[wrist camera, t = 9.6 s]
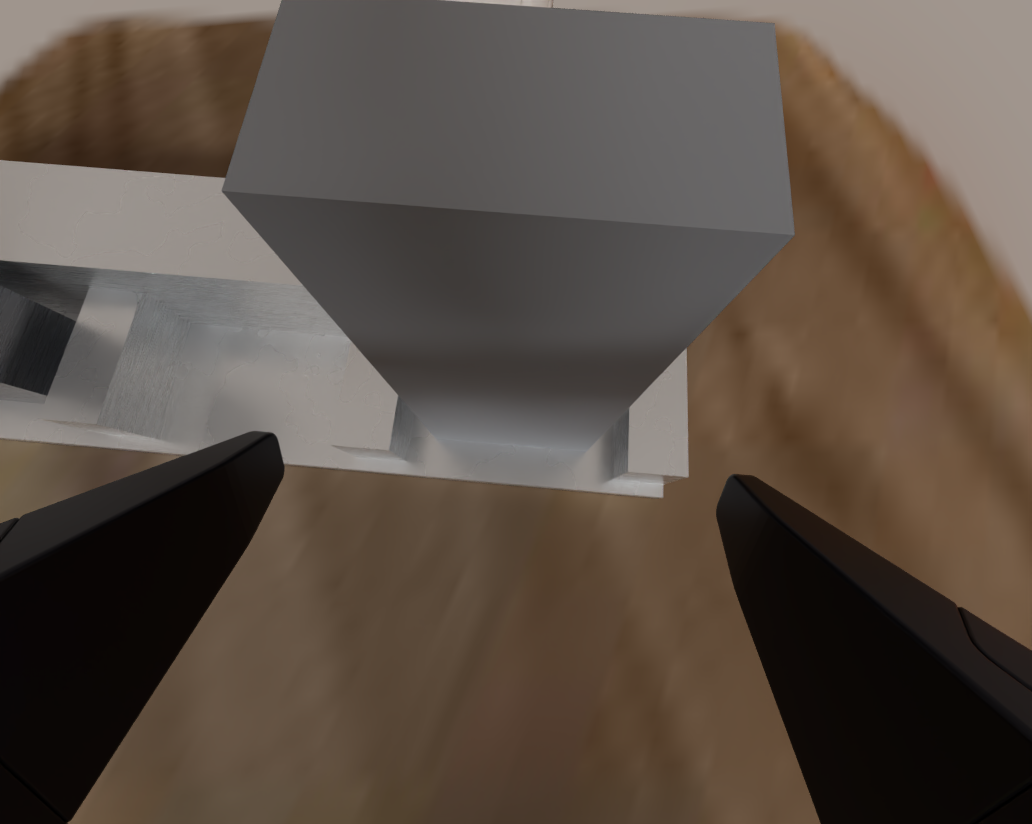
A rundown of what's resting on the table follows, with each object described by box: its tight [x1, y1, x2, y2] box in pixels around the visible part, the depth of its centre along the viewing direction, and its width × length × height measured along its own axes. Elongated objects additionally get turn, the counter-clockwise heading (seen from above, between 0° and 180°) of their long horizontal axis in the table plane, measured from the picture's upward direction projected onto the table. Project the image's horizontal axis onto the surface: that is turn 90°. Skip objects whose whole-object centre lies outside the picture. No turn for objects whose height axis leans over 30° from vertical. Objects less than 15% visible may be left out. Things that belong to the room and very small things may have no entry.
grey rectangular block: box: [221, 0, 795, 451], centre depth 11 cm, size 3×6×13 cm, turn 85°
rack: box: [0, 160, 689, 499], centre depth 12 cm, size 10×32×14 cm, turn 85°
